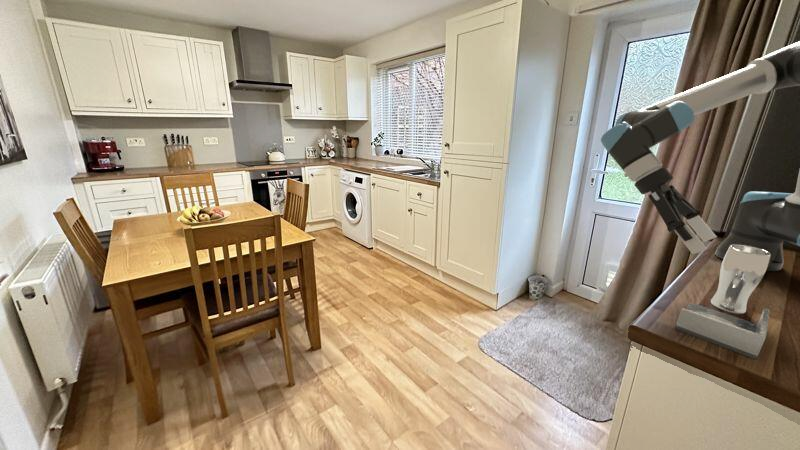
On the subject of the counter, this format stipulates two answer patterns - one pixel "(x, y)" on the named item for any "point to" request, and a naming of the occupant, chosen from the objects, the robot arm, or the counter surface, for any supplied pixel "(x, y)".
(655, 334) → the counter surface
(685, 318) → the tray
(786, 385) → the counter surface
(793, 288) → the counter surface
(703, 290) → the counter surface
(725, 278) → the beer glass
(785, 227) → the robot arm
